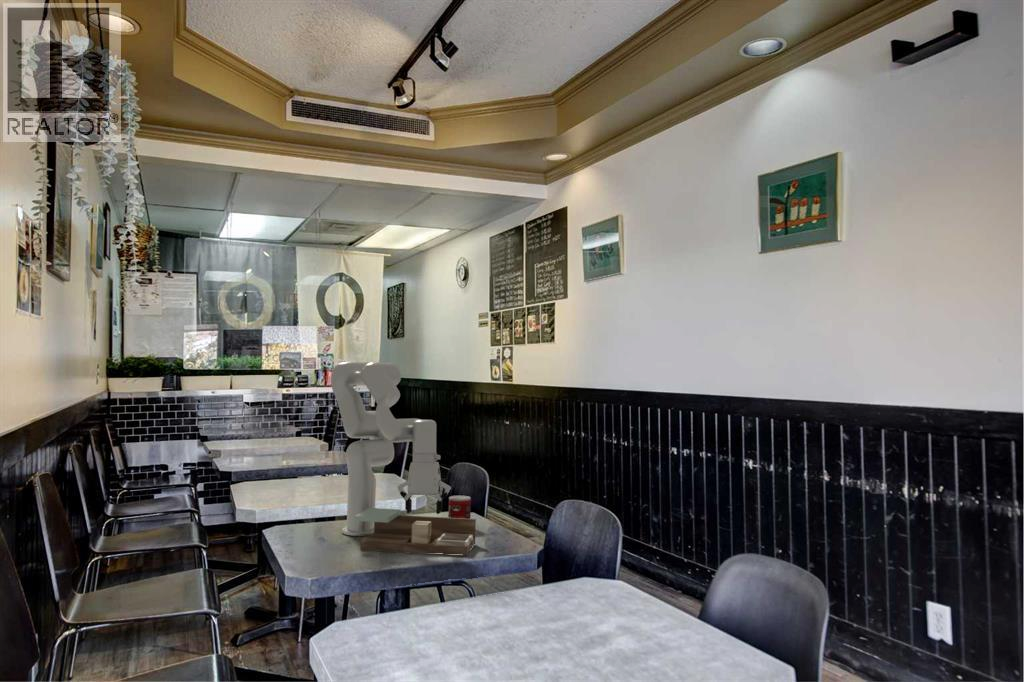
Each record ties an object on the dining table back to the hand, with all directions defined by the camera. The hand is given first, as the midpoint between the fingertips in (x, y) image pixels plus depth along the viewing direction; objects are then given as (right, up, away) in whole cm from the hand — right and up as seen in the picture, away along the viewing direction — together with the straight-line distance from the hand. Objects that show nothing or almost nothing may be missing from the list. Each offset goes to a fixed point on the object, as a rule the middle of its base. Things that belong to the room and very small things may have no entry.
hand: (423, 512), depth 209 cm
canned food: (+9, -13, +29) cm, 33 cm away
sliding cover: (-15, -2, +4) cm, 16 cm away
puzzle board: (-2, -11, 0) cm, 11 cm away
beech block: (-1, -11, 0) cm, 11 cm away
